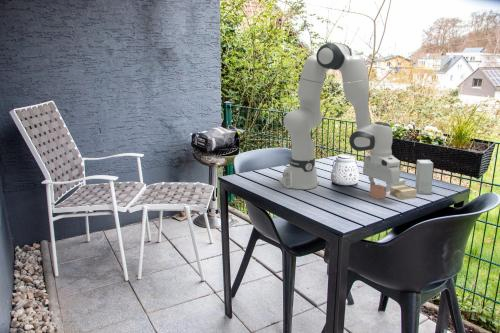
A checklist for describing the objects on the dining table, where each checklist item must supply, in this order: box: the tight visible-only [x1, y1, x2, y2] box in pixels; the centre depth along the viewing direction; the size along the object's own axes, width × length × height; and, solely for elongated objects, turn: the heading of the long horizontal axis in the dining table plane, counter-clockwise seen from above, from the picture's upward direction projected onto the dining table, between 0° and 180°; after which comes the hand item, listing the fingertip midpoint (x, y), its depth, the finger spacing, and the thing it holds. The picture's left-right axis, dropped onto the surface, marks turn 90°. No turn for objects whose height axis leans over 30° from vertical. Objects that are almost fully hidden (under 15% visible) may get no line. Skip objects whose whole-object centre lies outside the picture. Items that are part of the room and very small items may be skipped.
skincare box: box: [414, 159, 434, 195], centre depth 177 cm, size 8×6×15 cm
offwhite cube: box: [391, 178, 406, 187], centre depth 183 cm, size 5×5×5 cm
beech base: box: [389, 184, 418, 201], centre depth 173 cm, size 8×8×4 cm
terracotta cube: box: [369, 184, 387, 200], centre depth 172 cm, size 5×5×5 cm
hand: (379, 188), depth 171 cm, fingers open, 8 cm apart
